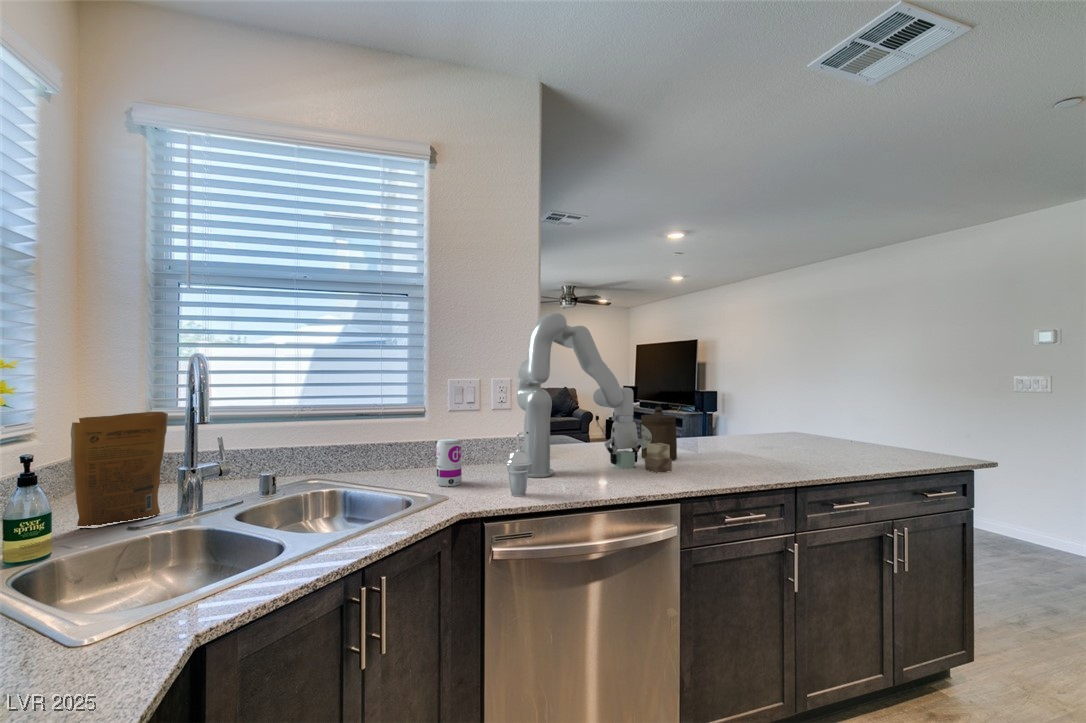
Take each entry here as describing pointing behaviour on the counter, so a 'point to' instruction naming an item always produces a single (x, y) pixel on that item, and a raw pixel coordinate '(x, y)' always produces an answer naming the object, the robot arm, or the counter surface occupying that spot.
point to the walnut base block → (658, 464)
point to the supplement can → (449, 462)
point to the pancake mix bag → (117, 466)
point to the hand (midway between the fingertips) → (624, 462)
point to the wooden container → (659, 431)
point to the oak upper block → (658, 451)
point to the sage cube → (625, 459)
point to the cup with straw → (518, 470)
